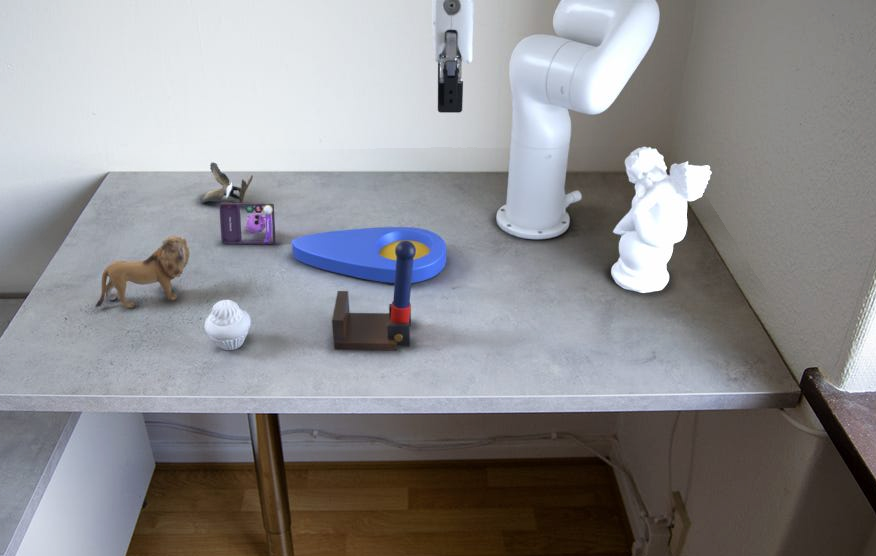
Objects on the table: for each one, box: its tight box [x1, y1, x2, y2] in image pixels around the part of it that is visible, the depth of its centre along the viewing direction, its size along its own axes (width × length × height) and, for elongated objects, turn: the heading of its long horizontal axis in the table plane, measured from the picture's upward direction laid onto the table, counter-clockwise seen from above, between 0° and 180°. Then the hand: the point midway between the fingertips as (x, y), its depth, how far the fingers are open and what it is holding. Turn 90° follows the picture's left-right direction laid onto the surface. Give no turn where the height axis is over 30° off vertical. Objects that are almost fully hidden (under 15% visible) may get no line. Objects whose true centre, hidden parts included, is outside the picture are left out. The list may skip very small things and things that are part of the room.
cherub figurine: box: [610, 146, 713, 294], centre depth 113 cm, size 12×12×22 cm
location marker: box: [291, 226, 447, 284], centre depth 123 cm, size 13×3×25 cm
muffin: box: [204, 299, 252, 351], centre depth 105 cm, size 6×6×7 cm
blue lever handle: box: [390, 241, 416, 323], centre depth 103 cm, size 14×3×3 cm
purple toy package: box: [218, 202, 277, 245], centre depth 129 cm, size 7×5×9 cm
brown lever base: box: [331, 290, 412, 351], centre depth 107 cm, size 10×7×5 cm
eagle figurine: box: [199, 162, 254, 204], centre depth 139 cm, size 8×7×9 cm
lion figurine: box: [95, 235, 190, 309], centre depth 113 cm, size 15×5×9 cm, turn 116°
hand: (449, 98), depth 105 cm, fingers open, 9 cm apart
